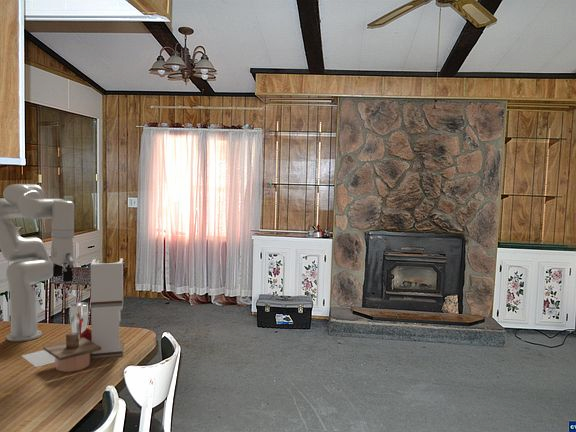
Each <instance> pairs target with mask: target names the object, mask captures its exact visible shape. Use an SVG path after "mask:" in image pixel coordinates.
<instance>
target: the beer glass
mask: <svg viewBox="0 0 576 432" xmlns="http://www.w3.org/2000/svg"><path fill="white" fill-rule="evenodd" d="M88 321H89V305H88V302H85V301H84V302H83V301H79V302H73V303H71V304H70V305H69V322H70V323H69V324H70V328H71V333H79V339H80V335H81V334H82V332H83V331H85V330H86V327H88V323H89V322H88Z"/></svg>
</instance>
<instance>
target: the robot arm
mask: <svg viewBox="0 0 576 432" xmlns="http://www.w3.org/2000/svg"><path fill="white" fill-rule="evenodd" d="M2 193H3V194H2V195H3V197H2V198H0V251H1V253H2V256H3V258H4V260H6V261H7V262H11V263H10V264H9V265H8V266H7V268H6V278H7V283H8V287H9V289H8V291H9V302H10V303H9V304H10V305H9V310H10V333H9V334H7V336H6V340H8V341H9V342H25V341H26V342H27V341H30V340H34V339H35V340H36V339H38V338H40V337H41V336H42V331H41V330H40V329H38V305H37V304H38V303H37V299H38V298H37V292H36V290H35V289H34V288H33V286H32V285H31V284H32V283H33V284H34V283H39V282H43V281H44V282H45V281H48V280H51V279H52V277H54V278H57V277H62V281H63V282H64V283H69V282H73V278H74V277H73V273H74V264H75V260H74V244H73V243H74V242H73V239H74V238H75V203H74V202H73V201H71V200H64V199H63V198H45V197H44V196H45V193H44V190H43V188H42V187H41V186H40V185H38V184H35V183H14V184H13V183H12V184H9V185H8V186H6V187H5V188H4V190H3V192H2ZM17 218H19V219H20V218H28V219H31V220H42V219H43V220H44V219H46V220H47V219H51V250H50V254H49V252H48V250H47V247H46V246H45V244H44V241H42V239H40V238H39V237H35V236H31V237H22V236H21V234H20V231H19V230H18V228H17V227H16V225H14V224H13V223H12V222H10V221H8V219H17ZM63 270H64V271H63Z"/></svg>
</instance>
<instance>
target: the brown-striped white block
mask: <svg viewBox="0 0 576 432" xmlns="http://www.w3.org/2000/svg"><path fill="white" fill-rule="evenodd" d="M123 308H124V258H121V257H120V258H119V261H117V262H110V263H109V262H108V263H102V262H101V263H98V262H97V259H96V258H94V259H93V260H92V261H91V263H90V309H91V310H90V311H91V313H90V315H91V316H90V317H91V323H90V325H91V330H92V342H93V343H95V344H97V345H98V346H100V347H101V350H99V351H95V352H91V359H100V358H110V357H120V356H122V357H123V356H124V348H125V345H124V343H125V342H124V340H122V341H121V340H120V323H121V311H122V310H123Z"/></svg>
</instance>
